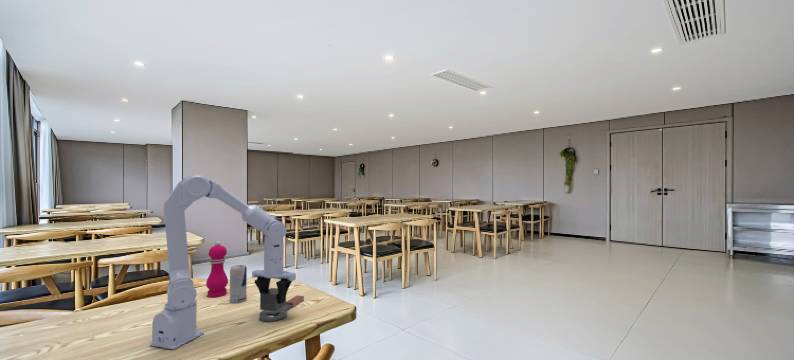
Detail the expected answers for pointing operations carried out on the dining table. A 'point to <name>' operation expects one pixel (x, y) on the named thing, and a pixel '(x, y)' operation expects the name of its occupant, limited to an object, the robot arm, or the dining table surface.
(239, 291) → the energy drink
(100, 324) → the dining table surface
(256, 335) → the dining table surface
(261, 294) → the dark grey brushed cube
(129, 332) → the dining table surface
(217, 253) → the pepper mill
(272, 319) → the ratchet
